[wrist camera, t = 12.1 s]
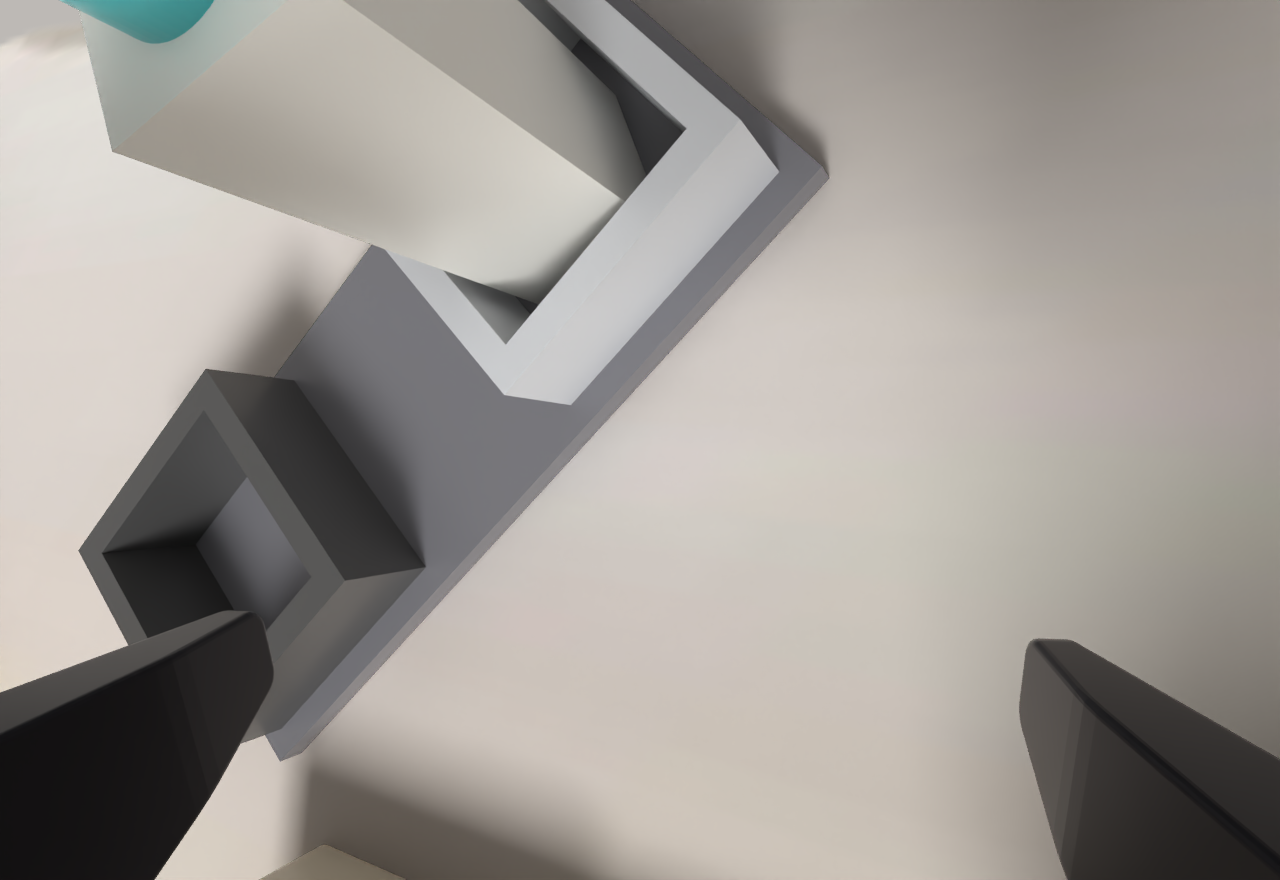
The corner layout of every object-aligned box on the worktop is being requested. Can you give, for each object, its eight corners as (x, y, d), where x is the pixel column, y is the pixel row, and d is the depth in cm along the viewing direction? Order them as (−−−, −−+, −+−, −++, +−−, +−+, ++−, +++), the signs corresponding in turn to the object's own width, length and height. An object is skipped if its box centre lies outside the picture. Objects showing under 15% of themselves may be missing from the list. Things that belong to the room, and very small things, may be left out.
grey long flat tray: (829, 178, 19) (790, 111, 15) (301, 753, 25) (188, 798, 21) (597, -24, 21) (519, -119, 18) (176, 538, 28) (59, 548, 24)
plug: (668, 232, 19) (147, -140, 8) (538, 304, 21) (-67, 86, 9) (615, 95, 20) (66, -439, 8) (493, 174, 22) (-117, -183, 10)
